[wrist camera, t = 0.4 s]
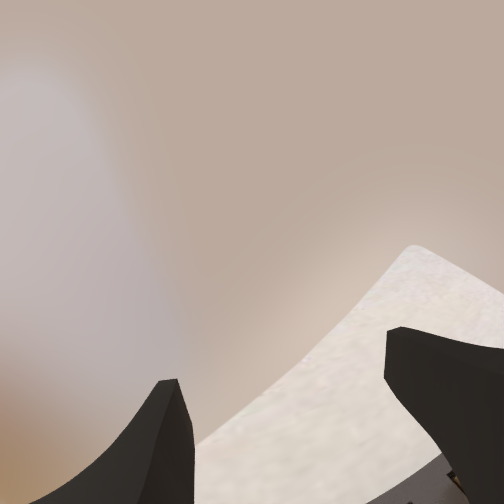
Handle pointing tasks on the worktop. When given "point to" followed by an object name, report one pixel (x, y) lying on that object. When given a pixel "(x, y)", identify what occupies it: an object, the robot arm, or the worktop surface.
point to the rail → (426, 487)
